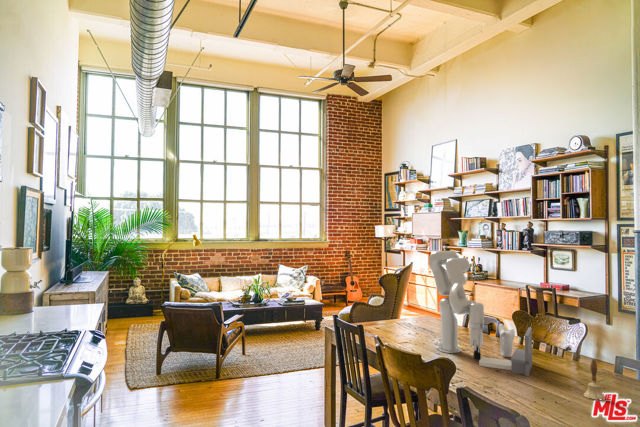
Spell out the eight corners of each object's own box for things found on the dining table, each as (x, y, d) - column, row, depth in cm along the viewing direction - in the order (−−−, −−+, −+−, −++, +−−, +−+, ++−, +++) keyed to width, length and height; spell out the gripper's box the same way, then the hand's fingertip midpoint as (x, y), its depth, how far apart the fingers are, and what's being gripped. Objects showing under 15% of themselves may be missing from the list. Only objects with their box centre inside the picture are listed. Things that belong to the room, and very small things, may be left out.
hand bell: (579, 393, 189) (578, 357, 189) (596, 393, 190) (595, 356, 190) (592, 401, 181) (591, 363, 181) (610, 400, 181) (610, 362, 182)
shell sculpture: (516, 359, 239) (515, 326, 240) (500, 358, 241) (500, 326, 241) (512, 354, 247) (512, 323, 248) (497, 353, 249) (496, 322, 249)
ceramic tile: (479, 366, 227) (479, 361, 228) (481, 361, 236) (481, 356, 236) (511, 371, 220) (511, 366, 220) (513, 365, 229) (513, 361, 229)
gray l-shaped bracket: (511, 373, 215) (510, 333, 215) (516, 362, 233) (515, 325, 233) (528, 376, 210) (528, 335, 211) (532, 364, 228) (531, 327, 229)
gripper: (472, 322, 242) (473, 355, 241) (466, 327, 229) (467, 361, 228) (486, 323, 238) (487, 357, 237) (481, 329, 225) (481, 364, 225)
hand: (477, 359), depth 233 cm, fingers closed
